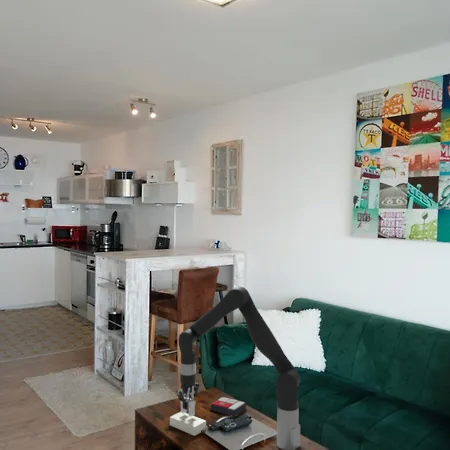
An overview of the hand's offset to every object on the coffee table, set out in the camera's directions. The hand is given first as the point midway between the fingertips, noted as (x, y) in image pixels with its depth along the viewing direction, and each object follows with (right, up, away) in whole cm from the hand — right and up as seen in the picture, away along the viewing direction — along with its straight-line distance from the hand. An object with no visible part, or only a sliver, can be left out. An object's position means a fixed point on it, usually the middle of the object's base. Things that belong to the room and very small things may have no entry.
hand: (187, 407), depth 216 cm
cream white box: (0, -9, 0) cm, 9 cm away
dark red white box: (+19, -9, +20) cm, 29 cm away
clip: (0, -3, 0) cm, 3 cm away
